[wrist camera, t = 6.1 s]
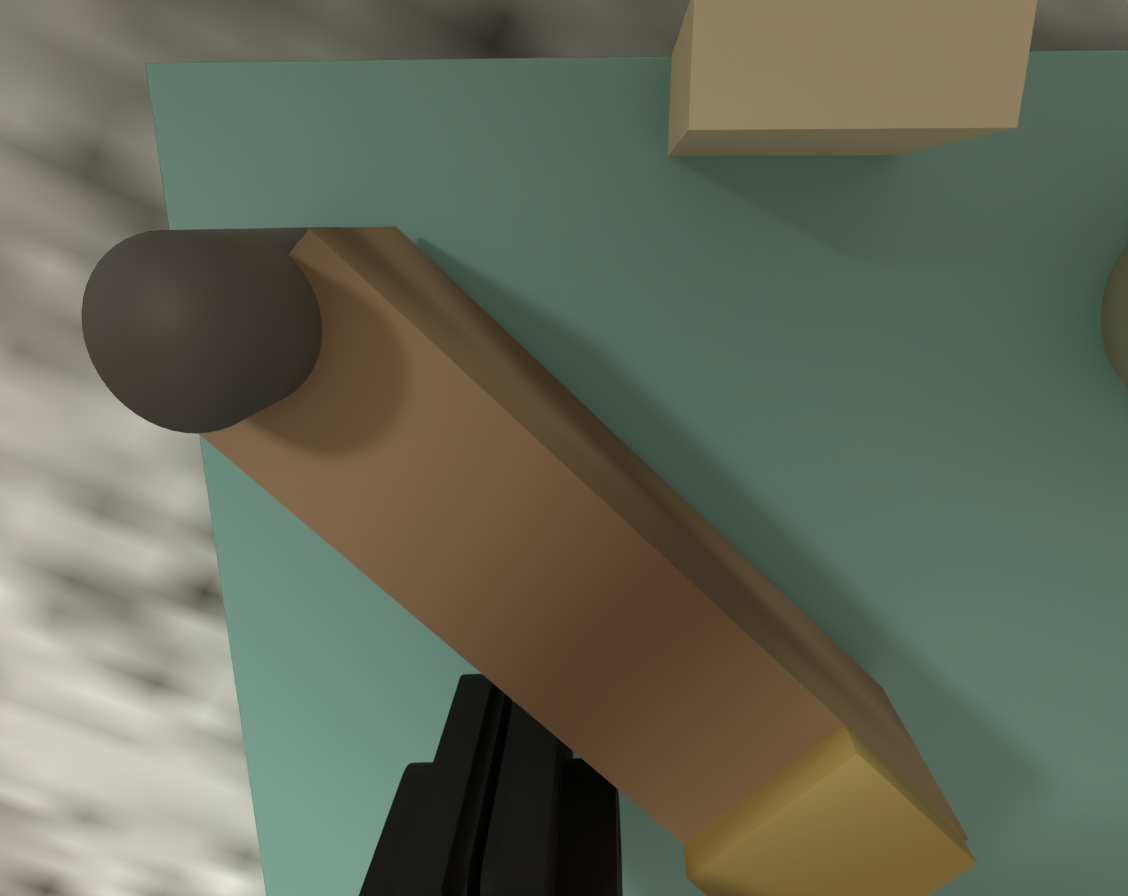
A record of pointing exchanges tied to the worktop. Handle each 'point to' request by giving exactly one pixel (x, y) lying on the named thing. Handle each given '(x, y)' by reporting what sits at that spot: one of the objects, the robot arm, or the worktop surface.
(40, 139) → the worktop surface
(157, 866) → the worktop surface
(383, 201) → the stool seat
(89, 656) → the worktop surface
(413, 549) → the folding leg
